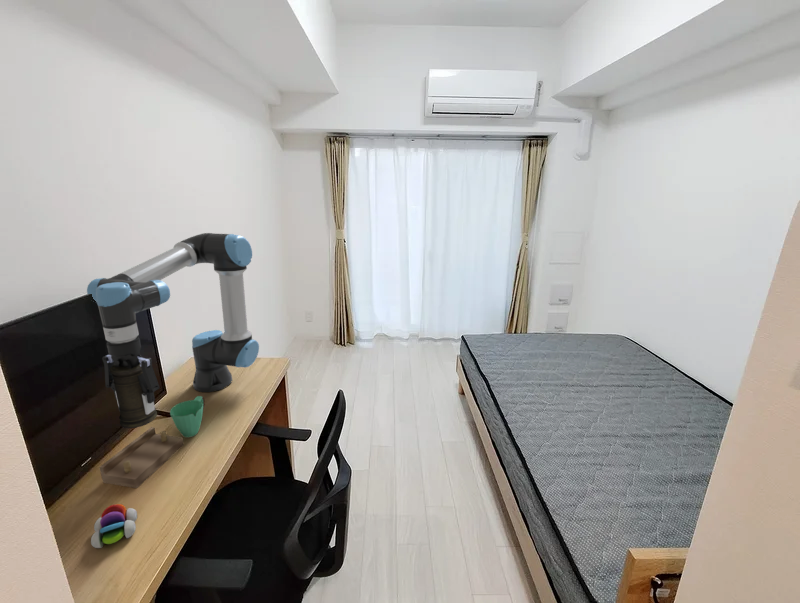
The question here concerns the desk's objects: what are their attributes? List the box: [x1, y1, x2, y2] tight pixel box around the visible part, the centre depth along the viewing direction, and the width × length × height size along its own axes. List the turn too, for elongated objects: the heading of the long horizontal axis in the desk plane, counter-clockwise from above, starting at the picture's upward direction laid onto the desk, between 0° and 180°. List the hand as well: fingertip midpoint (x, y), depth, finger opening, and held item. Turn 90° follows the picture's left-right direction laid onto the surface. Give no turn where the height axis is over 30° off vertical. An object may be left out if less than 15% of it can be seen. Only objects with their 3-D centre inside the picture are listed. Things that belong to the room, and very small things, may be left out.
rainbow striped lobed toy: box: [90, 503, 138, 549], centre depth 93 cm, size 8×10×7 cm
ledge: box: [99, 426, 184, 489], centre depth 117 cm, size 19×11×6 cm, turn 171°
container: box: [110, 364, 158, 429], centre depth 110 cm, size 9×9×18 cm
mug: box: [169, 395, 205, 438], centre depth 133 cm, size 15×10×10 cm
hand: (137, 409), depth 112 cm, fingers closed on container, 8 cm apart
